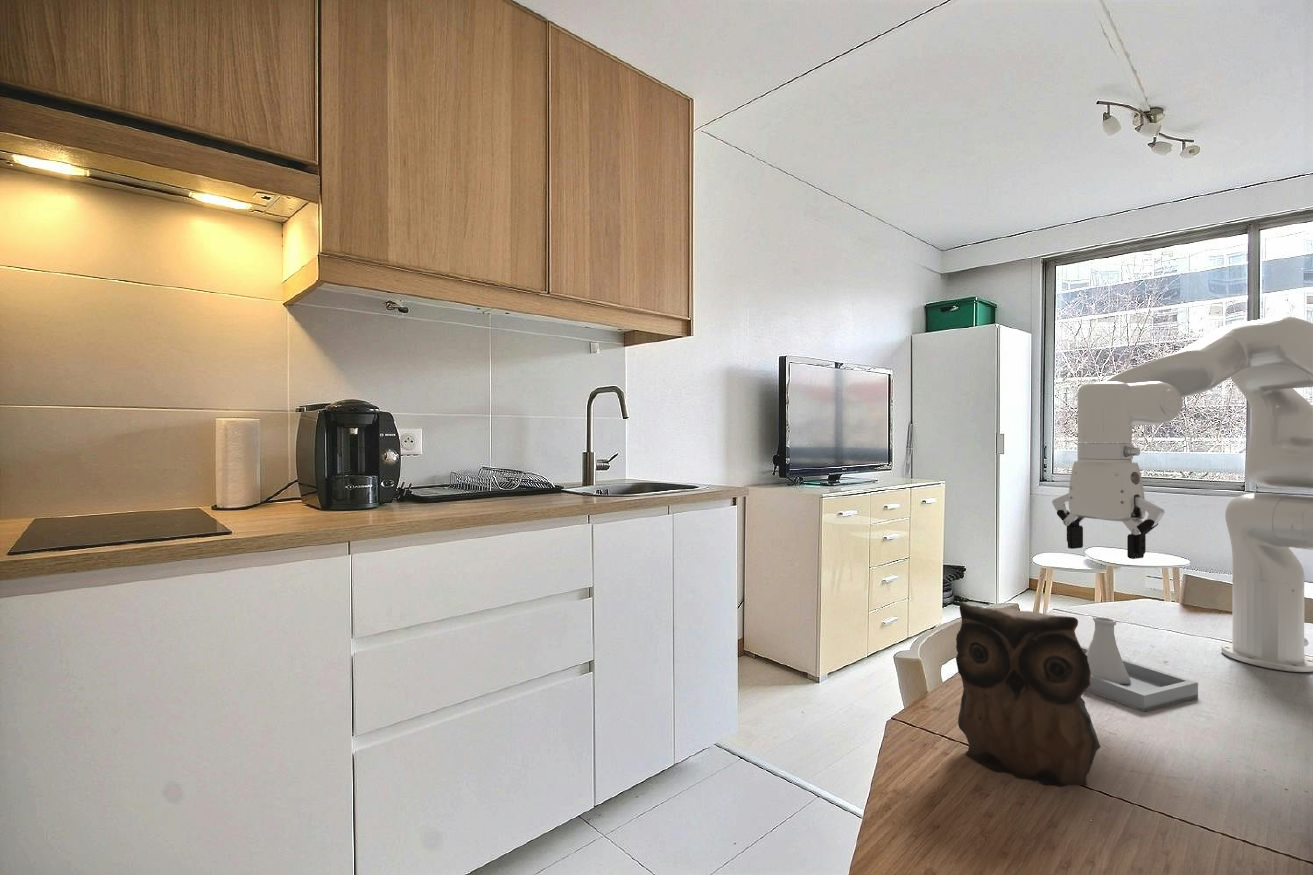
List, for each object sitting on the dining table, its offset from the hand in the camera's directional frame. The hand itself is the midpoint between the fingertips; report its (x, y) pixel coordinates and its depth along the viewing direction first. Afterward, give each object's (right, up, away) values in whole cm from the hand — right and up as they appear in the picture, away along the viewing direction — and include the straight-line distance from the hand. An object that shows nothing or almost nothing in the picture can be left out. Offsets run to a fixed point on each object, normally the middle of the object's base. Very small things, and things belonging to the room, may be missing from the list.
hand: (1104, 552), depth 102 cm
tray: (0, -22, 0) cm, 22 cm away
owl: (-30, -22, -26) cm, 45 cm away
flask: (0, -22, 0) cm, 22 cm away
